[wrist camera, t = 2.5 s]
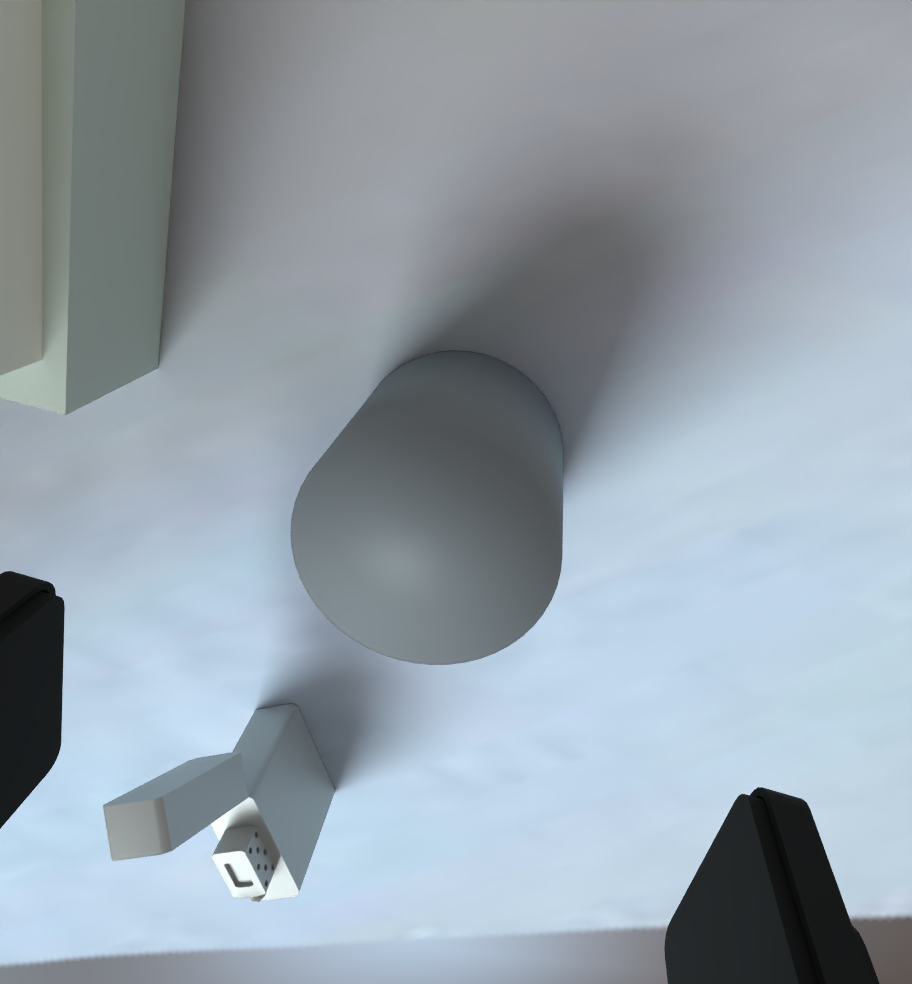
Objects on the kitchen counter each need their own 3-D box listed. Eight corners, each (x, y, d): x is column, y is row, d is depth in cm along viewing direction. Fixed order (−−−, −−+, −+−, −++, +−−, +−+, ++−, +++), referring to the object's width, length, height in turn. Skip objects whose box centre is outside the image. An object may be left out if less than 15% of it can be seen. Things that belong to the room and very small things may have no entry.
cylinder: (532, 566, 24) (522, 692, 18) (342, 517, 24) (275, 627, 18) (589, 381, 21) (597, 462, 16) (376, 327, 21) (310, 389, 16)
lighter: (336, 793, 28) (259, 1015, 21) (293, 800, 28) (202, 1020, 21) (264, 630, 26) (147, 816, 18) (218, 639, 26) (85, 826, 19)
